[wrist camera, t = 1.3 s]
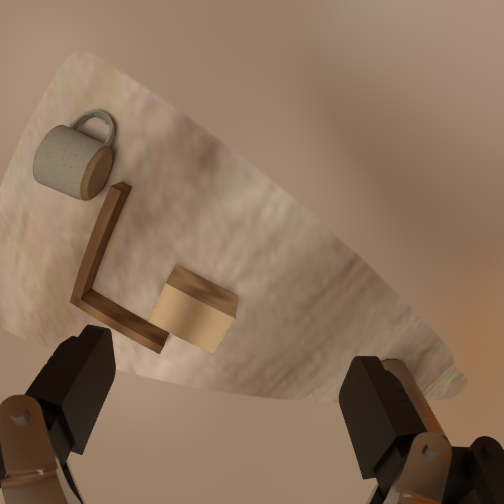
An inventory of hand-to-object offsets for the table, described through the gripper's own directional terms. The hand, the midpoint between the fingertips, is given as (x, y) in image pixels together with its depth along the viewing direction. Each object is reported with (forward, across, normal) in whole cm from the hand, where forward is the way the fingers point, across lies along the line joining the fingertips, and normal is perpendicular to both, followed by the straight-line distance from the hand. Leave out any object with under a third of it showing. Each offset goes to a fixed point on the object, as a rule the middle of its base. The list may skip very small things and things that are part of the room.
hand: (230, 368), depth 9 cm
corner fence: (+30, +11, +11) cm, 33 cm away
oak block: (+30, +4, +14) cm, 33 cm away
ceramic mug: (+30, +20, -4) cm, 37 cm away
